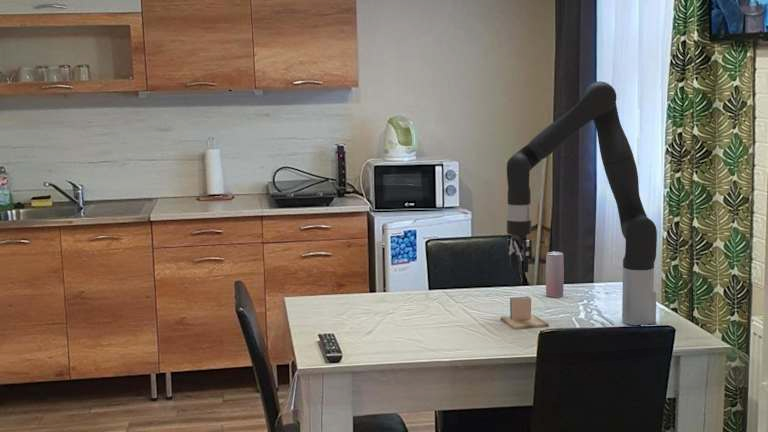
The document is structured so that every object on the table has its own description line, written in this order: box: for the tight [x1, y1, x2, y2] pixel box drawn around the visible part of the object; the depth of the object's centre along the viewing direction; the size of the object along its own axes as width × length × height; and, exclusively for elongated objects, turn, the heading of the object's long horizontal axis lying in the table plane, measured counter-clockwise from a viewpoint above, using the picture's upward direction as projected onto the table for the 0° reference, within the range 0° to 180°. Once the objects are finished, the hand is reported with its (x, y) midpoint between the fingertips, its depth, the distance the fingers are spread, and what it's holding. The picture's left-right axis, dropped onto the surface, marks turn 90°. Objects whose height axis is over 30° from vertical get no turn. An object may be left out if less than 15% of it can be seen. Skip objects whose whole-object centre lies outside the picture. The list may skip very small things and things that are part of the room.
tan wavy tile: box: [500, 314, 550, 330], centre depth 293 cm, size 11×12×1 cm
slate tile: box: [509, 295, 532, 320], centre depth 295 cm, size 6×2×7 cm, turn 104°
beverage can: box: [545, 251, 565, 298], centre depth 327 cm, size 6×6×15 cm
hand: (519, 269), depth 295 cm, fingers open, 8 cm apart
